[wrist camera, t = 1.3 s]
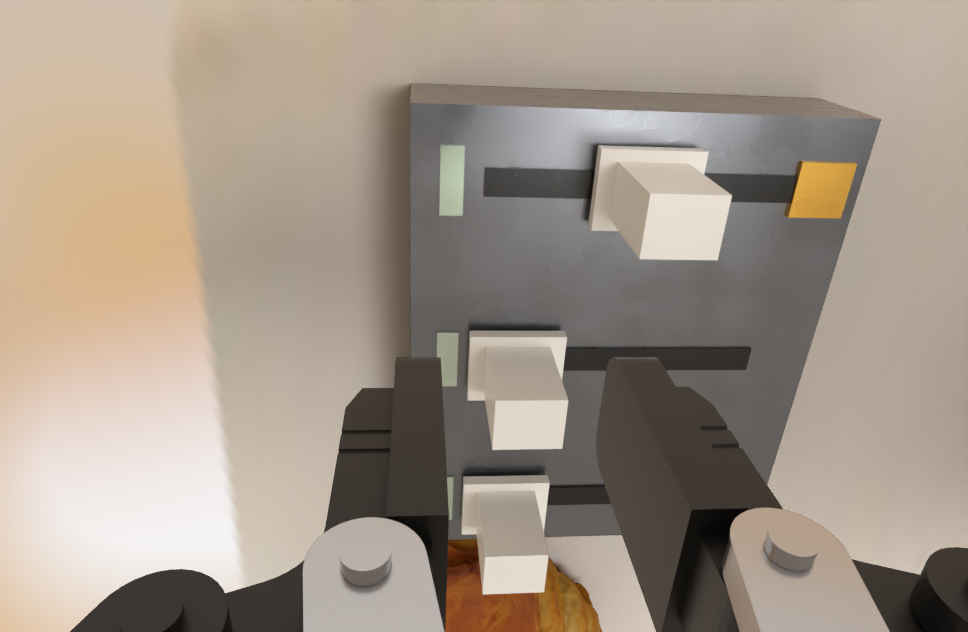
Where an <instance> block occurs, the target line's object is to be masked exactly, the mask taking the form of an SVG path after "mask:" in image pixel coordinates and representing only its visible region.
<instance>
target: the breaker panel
mask: <svg viewBox="0 0 968 632" xmlns="http://www.w3.org/2000/svg"><path fill="white" fill-rule="evenodd" d="M880 121H881V119H880V118H876V117H873V116H870V115H867V114H864V113H861V112H858V111H855V110H852V109H849V108H846V107H843V106H840V105H837V104H834V103H831V102H828V101H825V100H822V99H816V98H789V97H763V96H736V95H709V94H682V93H655V92H628V91H601V90H574V89H547V88H521V87H494V86H467V85H440V84H413V83H411V95H410V350H411V357H441V370H442V390H443V409H444V429H445V448H446V468H447V487H448V506H449V529H448V540H456V539H477V534H467V535H462V531H461V518H462V495H463V477H470V476H523V475H548V478H549V482H550V485H549V493H548V501H547V510H546V518H545V526H544V535H545V537H563V536H599V535H622V533H621V530H620V528H619V525H618V522H617V519H616V516H615V514H614V511H613V508H612V505H611V502H610V499H609V497H608V494H607V491H606V488H605V485H604V482H603V480H602V477H601V474H600V471H599V467H598V462H597V455H596V434H597V427H598V420H599V414H600V407H601V401H602V394H603V388H604V381H605V375H606V369H607V365H608V362H609V360H610V359H611V358H612V357H656V358H658V359H659V360H660V362H661V363H662V365H663V367H664V368H665V370H666V371H667V373H668V375H669V376H670V378H671V380H672V381H673V383H674V385H675V386H676V387H690V388H692V389H693V390H694V391H696V392H697V393H698V394H700V395H701V396H702V397H704V398H705V399H706V400H708V401H709V402H710V403H712V404H713V405H714V406H715V408H716V409H717V411H718V412H719V414H720V415H721V417H722V418H723V420H724V421H725V423H726V424H727V429H728V430H731V432H732V433H733V435H734V436H735V438H736V439H737V441H738V442H739V448H743V450H744V451H745V453H746V454H747V456H748V457H749V459H750V460H751V462H752V463H753V465H754V466H755V468H756V469H757V471H758V472H759V474H760V475H761V477H762V478H763V480H764V481H765V483H766V484H767V483H768V480H769V477H770V474H771V471H772V467H773V464H774V461H775V458H776V455H777V451H778V448H779V445H780V442H781V439H782V435H783V432H784V429H785V426H786V423H787V419H788V416H789V413H790V410H791V407H792V403H793V400H794V397H795V394H796V391H797V387H798V384H799V381H800V378H801V374H802V371H803V368H804V365H805V362H806V358H807V355H808V352H809V349H810V346H811V342H812V339H813V336H814V333H815V330H816V326H817V323H818V320H819V317H820V314H821V310H822V307H823V304H824V301H825V298H826V294H827V291H828V288H829V285H830V282H831V278H832V275H833V272H834V269H835V266H836V262H837V259H838V256H839V253H840V250H841V246H842V243H843V240H844V237H845V234H846V230H847V227H848V224H849V221H850V218H851V214H852V211H853V208H854V205H855V202H856V198H857V195H858V192H859V189H860V185H861V182H862V179H863V176H864V173H865V169H866V166H867V163H868V160H869V157H870V153H871V150H872V147H873V144H874V141H875V137H876V134H877V131H878V128H879V125H880ZM598 145H605V146H639V147H674V148H703V149H705V150H706V151H708V152H709V153H708V158H707V163H706V168H705V173H704V175H705V176H706V177H708V178H709V179H711V180H712V181H713V182H715V183H716V184H717V185H719V186H720V187H721V188H723V189H724V190H725V191H727V192H728V193H730V194H731V195H732V199H731V203H730V207H729V212H728V216H727V221H726V225H725V230H724V234H723V239H722V243H721V248H720V252H719V257H718V260H652V259H639V258H638V257H637V255H636V254H635V253H634V251H633V250H632V249H631V247H630V246H629V245H628V243H627V242H626V241H625V239H624V238H623V237H622V235H621V234H620V232H619V231H591V229H590V228H589V226H588V223H589V215H590V207H591V199H592V191H593V183H594V175H595V167H596V159H597V151H598ZM470 331H565V333H566V336H567V343H566V351H565V359H564V368H563V376H562V383H563V386H564V389H565V391H566V394H567V397H568V408H567V416H566V423H565V431H564V439H563V447H562V449H521V450H492V444H491V438H490V431H489V424H488V417H487V411H486V404H485V400H481V401H468V399H467V380H468V357H469V334H470Z"/></svg>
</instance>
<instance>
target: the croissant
mask: <svg viewBox="0 0 968 632" xmlns="http://www.w3.org/2000/svg"><path fill="white" fill-rule="evenodd" d="M445 632H602V630H601V628H600V625H599V619H598V614H597V612H596V611H595V609H594V608H593V606H592V603H591V601H590V598H589V594H588V592H587V591H586V589H585V588H584V587H583V586H582V585H581V584H579V583H573V582H572V581H571V580H570V578H569V577H567V576H566V575H564V574H563V573H561V572H558V571H557V569H556V567H555V565H554V563H553V562H552V560H551V559H550V558H549V557H548V565H547V573H546V581H545V589H544V592H539V593H511V594H482V584H481V573H480V563H479V553H478V543H477V539H456V540H448V561H447V593H446V624H445Z"/></svg>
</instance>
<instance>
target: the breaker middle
mask: <svg viewBox="0 0 968 632" xmlns="http://www.w3.org/2000/svg"><path fill="white" fill-rule="evenodd" d="M566 343H567V336H566V333H565V331H470V334H469V357H468V380H467V399H468V401H481V400H485V404H486V411H487V417H488V424H489V431H490V438H491V444H492V450H521V449H562V447H563V439H564V431H565V423H566V416H567V408H568V397H567V394H566V391H565V389H564V386H563V383H562V376H563V368H564V359H565V351H566Z"/></svg>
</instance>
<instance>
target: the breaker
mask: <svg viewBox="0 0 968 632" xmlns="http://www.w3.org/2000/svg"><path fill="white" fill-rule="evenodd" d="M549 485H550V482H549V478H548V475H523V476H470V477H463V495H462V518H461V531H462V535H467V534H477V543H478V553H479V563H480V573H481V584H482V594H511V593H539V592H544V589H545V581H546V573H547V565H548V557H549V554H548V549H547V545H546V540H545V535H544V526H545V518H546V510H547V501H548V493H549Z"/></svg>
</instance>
